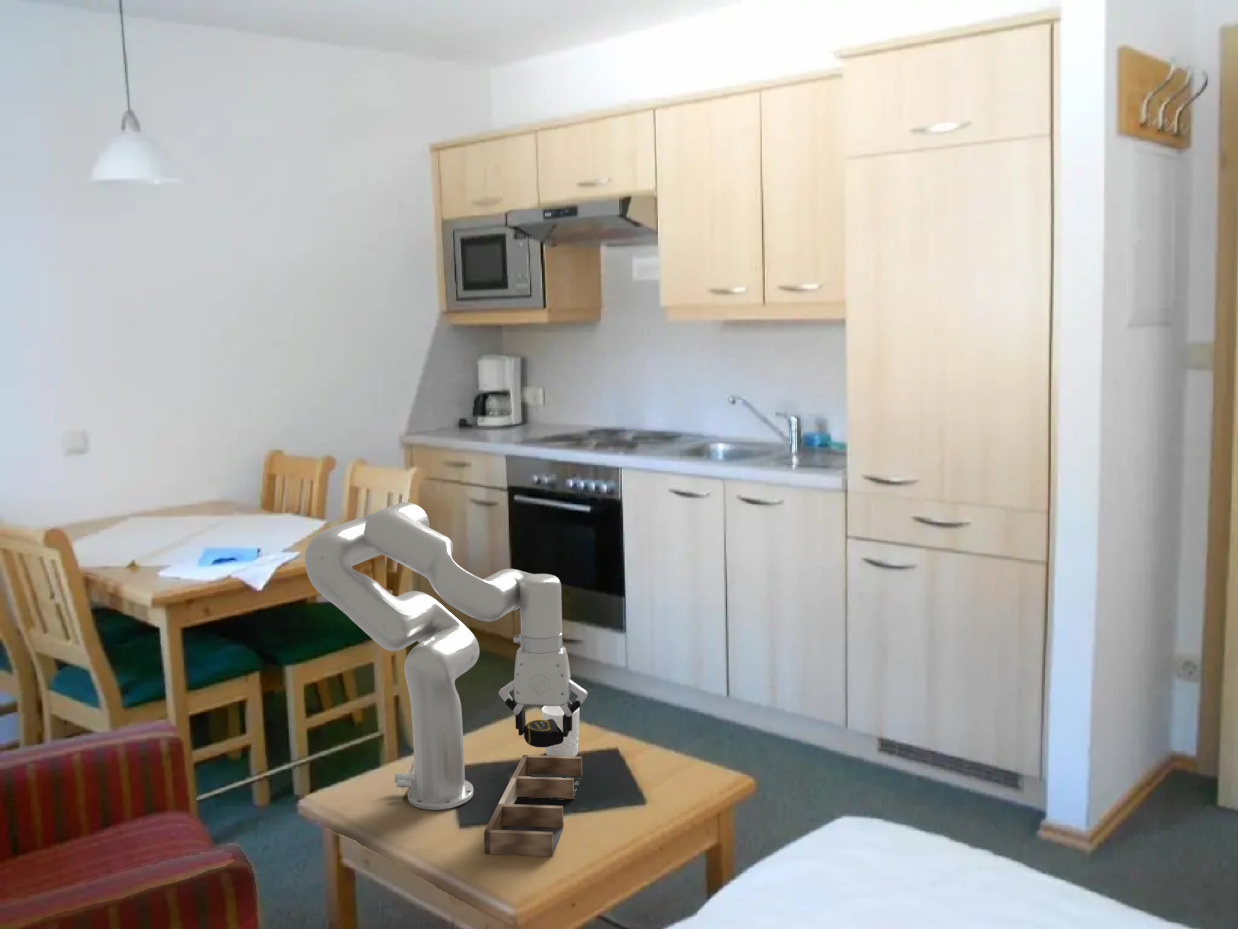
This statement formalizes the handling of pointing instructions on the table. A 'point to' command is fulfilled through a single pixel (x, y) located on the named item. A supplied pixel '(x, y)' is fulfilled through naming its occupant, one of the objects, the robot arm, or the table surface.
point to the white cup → (571, 741)
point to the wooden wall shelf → (532, 807)
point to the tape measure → (543, 733)
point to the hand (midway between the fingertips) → (544, 733)
